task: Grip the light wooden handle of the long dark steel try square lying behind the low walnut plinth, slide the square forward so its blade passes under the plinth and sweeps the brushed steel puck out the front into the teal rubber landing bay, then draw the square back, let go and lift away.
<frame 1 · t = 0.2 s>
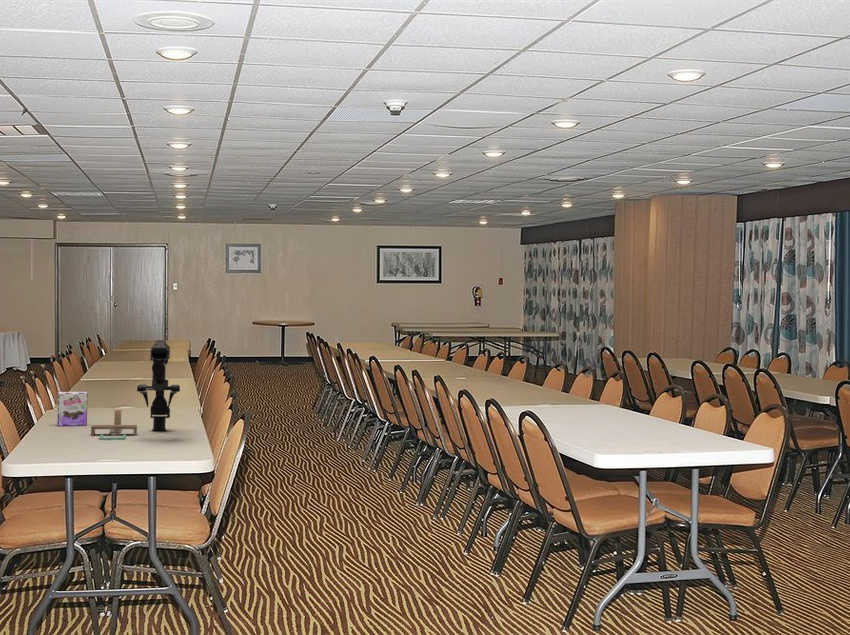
hand: (158, 407, 453), 15 cm above the table, fingers open, 9 cm apart
walnut plinth: (114, 434, 462), on the table
candy box: (71, 425, 490), on the table
try square: (117, 428, 486), on the table
landing bay: (112, 437, 452), on the table
steel puck: (114, 435, 462), on the table
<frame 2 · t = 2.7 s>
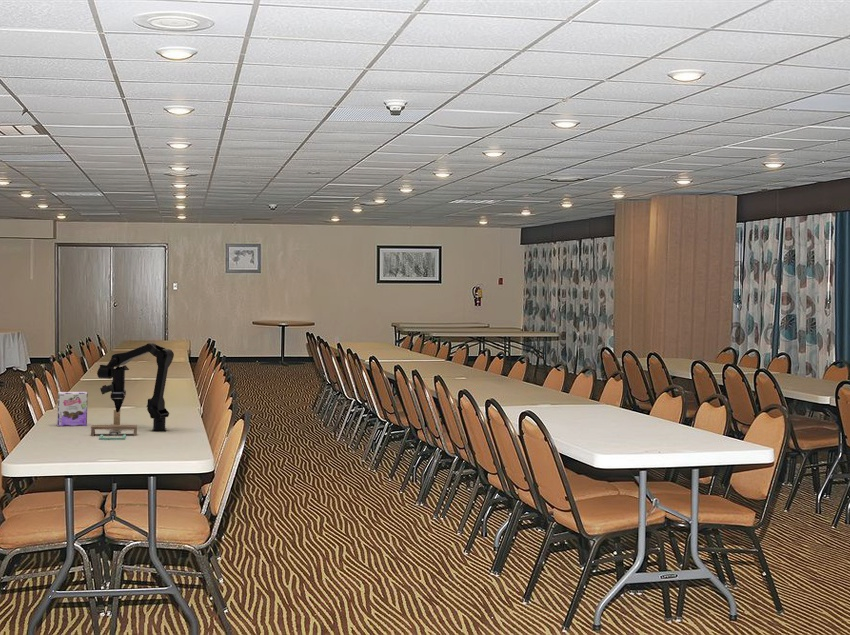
hand: (118, 411, 486), 8 cm above the table, fingers open, 9 cm apart
nothing on the table moved.
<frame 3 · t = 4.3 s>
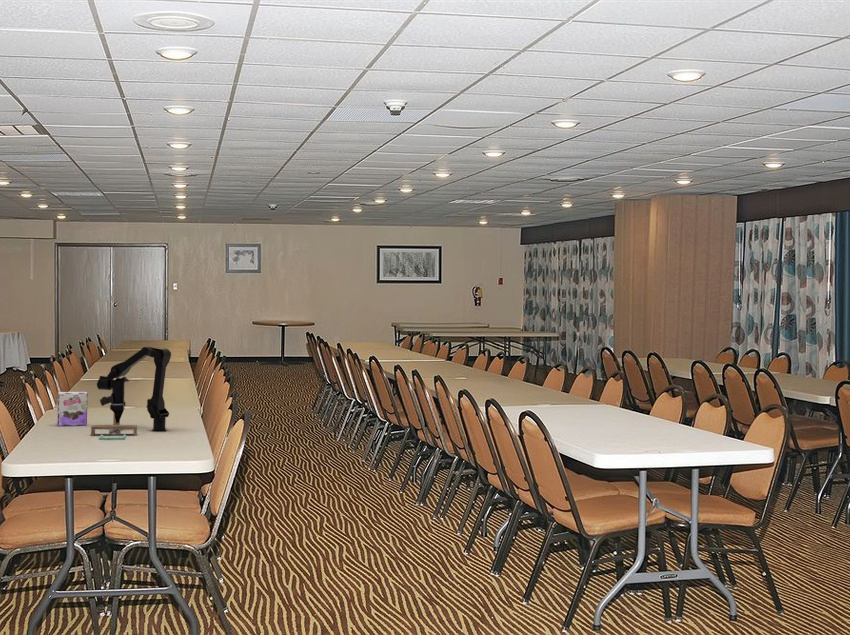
hand: (117, 422, 486), 3 cm above the table, fingers closed on try square, 3 cm apart
try square: (116, 427, 486), on the table, touching gripper
everything else where it was.
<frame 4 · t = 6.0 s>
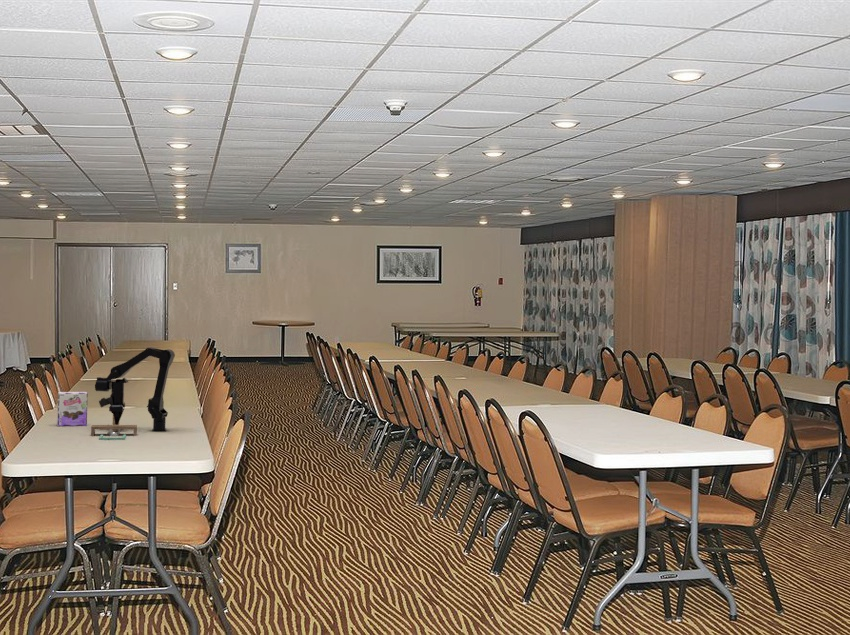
hand: (116, 424, 481), 2 cm above the table, fingers closed on try square, 3 cm apart
try square: (115, 429, 481), on the table, touching gripper, steel puck
steel puck: (113, 435, 460), on the table, touching try square
everything else where it was.
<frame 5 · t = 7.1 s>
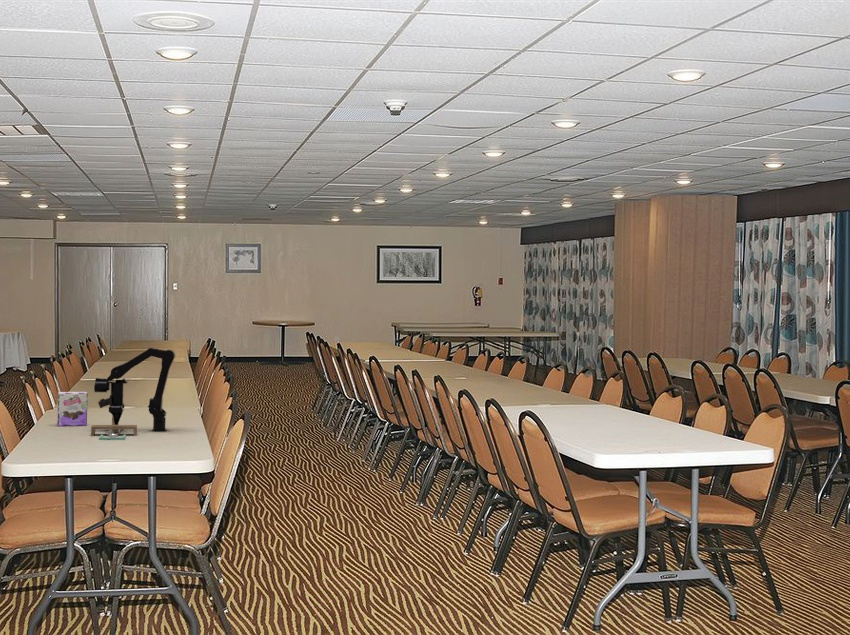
hand: (116, 425, 477), 2 cm above the table, fingers closed on try square, 3 cm apart
try square: (115, 430, 477), on the table, touching gripper
steel puck: (113, 437, 456), on the table
everything else where it was.
when the fingers open (3 cm above the table, at t = 8.9 s): try square stays where it is, on the table.
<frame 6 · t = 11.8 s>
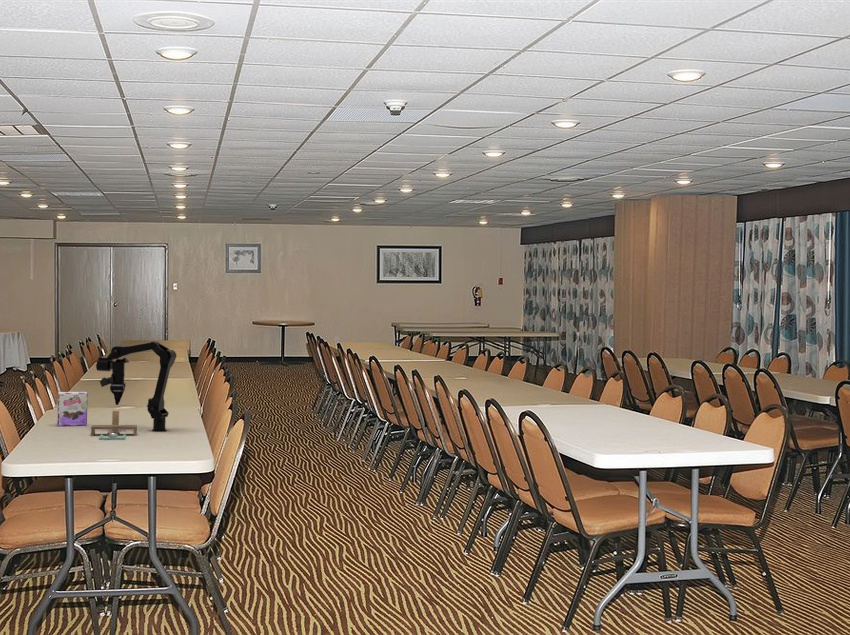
hand: (117, 403, 483), 12 cm above the table, fingers open, 9 cm apart
try square: (115, 428, 483), on the table
steel puck: (113, 436, 456), on the table, tilted 6°
everything else where it was.
at the end: steel puck inside the target area (3.1 cm from its centre), on the table; the gripper is holding nothing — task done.
